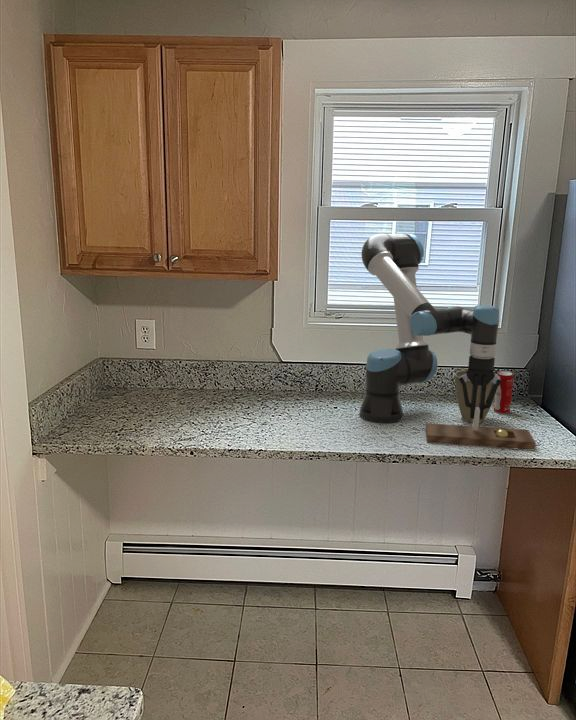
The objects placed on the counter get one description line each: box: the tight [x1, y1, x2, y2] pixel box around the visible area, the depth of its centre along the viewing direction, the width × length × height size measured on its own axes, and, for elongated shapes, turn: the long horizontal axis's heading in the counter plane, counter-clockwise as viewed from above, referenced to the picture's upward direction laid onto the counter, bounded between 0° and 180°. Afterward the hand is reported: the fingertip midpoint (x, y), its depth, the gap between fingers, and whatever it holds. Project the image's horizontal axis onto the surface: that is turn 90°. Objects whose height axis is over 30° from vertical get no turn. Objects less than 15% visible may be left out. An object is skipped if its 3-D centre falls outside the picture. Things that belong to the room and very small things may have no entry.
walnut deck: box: [425, 422, 536, 450], centre depth 184 cm, size 32×11×2 cm, turn 79°
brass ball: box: [495, 429, 508, 438], centre depth 182 cm, size 4×4×4 cm
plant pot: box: [454, 369, 500, 423], centre depth 201 cm, size 15×15×16 cm
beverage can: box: [493, 370, 515, 415], centre depth 209 cm, size 6×6×15 cm
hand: (475, 427), depth 184 cm, fingers closed
